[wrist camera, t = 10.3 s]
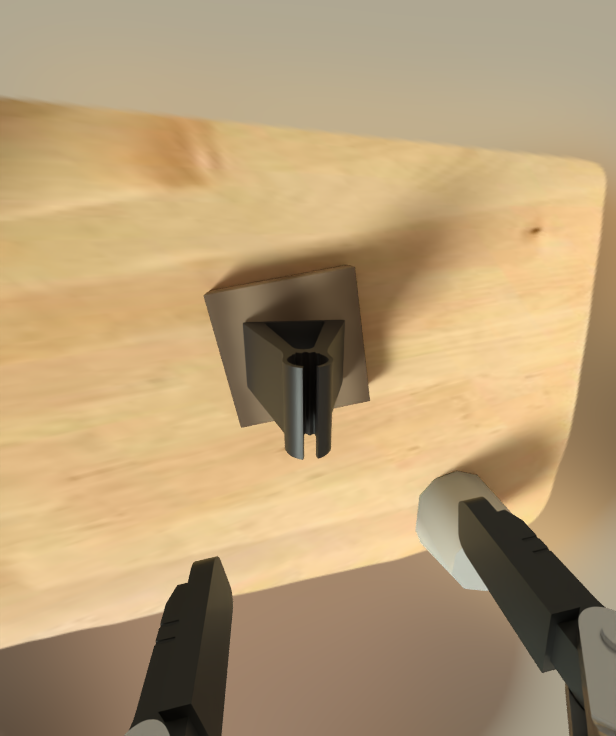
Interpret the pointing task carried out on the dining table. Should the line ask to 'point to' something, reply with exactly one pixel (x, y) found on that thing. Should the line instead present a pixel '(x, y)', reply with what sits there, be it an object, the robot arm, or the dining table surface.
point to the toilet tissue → (451, 523)
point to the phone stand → (296, 376)
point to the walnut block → (288, 303)
